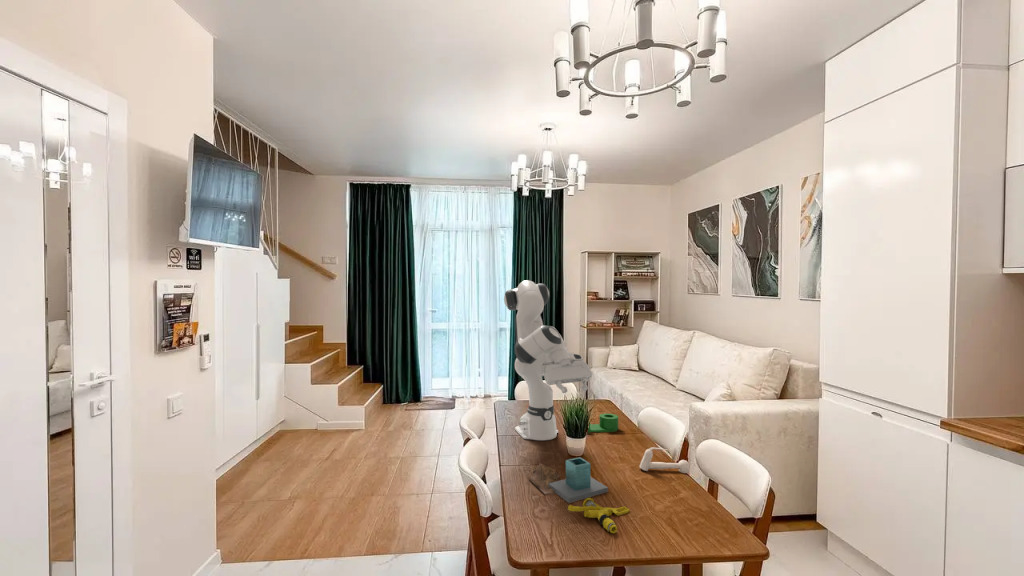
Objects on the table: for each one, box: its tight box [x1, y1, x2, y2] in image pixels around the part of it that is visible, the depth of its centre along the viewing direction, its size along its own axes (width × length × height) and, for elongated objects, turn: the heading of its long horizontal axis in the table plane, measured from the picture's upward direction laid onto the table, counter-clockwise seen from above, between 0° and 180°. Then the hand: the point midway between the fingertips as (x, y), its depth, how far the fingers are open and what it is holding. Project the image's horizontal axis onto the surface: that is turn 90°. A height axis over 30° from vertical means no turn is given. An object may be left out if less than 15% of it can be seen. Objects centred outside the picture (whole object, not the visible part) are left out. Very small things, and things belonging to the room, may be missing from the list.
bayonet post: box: [548, 476, 609, 504], centre depth 144 cm, size 12×16×8 cm
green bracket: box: [587, 413, 619, 434], centre depth 208 cm, size 18×9×6 cm, turn 97°
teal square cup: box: [565, 456, 591, 491], centre depth 144 cm, size 6×6×8 cm
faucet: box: [639, 447, 690, 474], centre depth 160 cm, size 4×18×10 cm, turn 86°
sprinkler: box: [567, 497, 630, 534], centre depth 126 cm, size 19×4×15 cm
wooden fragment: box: [529, 463, 560, 496], centre depth 153 cm, size 26×11×1 cm, turn 178°
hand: (575, 390), depth 163 cm, fingers open, 8 cm apart
